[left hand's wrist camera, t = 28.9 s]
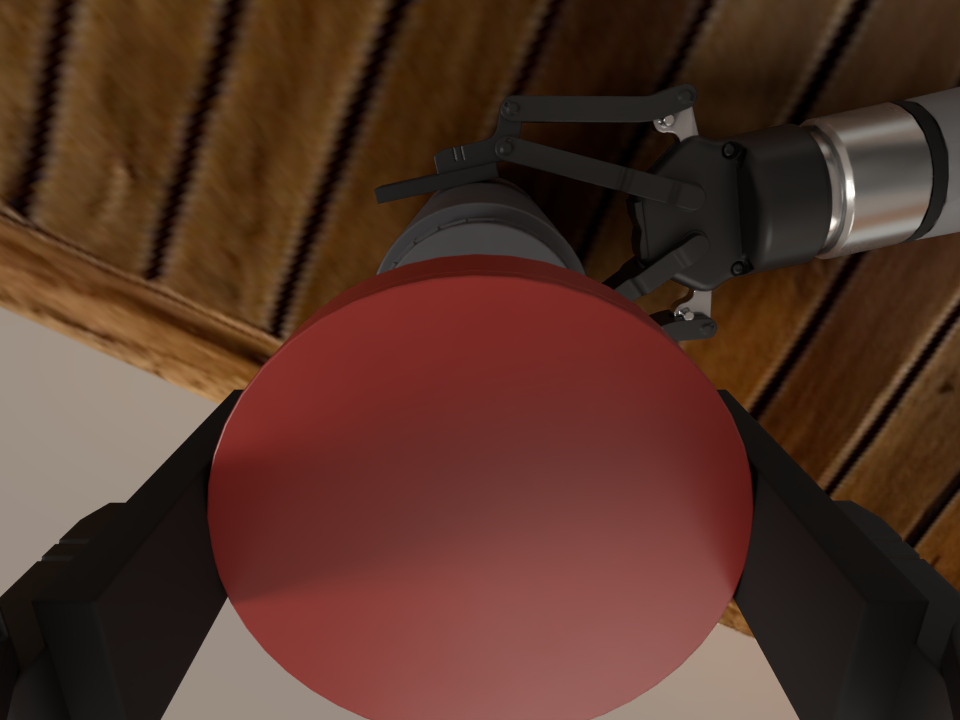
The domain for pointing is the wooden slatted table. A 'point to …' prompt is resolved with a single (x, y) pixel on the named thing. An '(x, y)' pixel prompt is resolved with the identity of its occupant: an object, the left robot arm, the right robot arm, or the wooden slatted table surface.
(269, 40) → the wooden slatted table surface
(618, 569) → the lid
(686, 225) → the right robot arm
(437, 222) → the jar
